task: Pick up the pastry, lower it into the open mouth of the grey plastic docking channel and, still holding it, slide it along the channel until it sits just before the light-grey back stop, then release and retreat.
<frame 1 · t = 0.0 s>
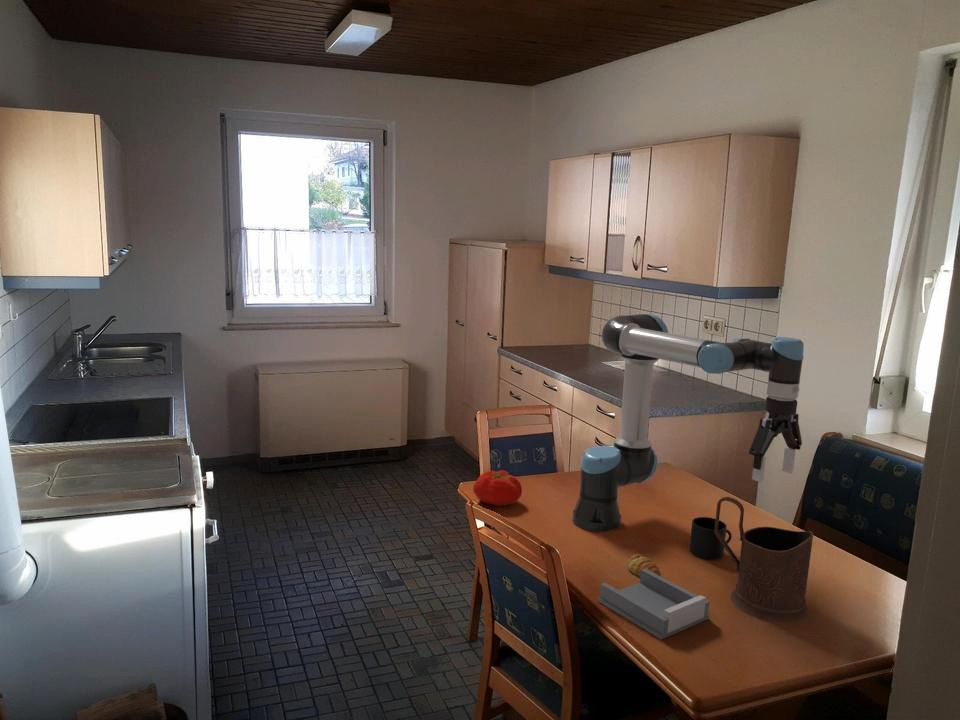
hand: (772, 476, 194), 28 cm above the table, fingers open, 13 cm apart
mug: (710, 553, 212), on the table
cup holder: (757, 601, 185), on the table
pastry: (643, 573, 198), on the table
dock: (652, 609, 178), on the table
tomato: (497, 503, 244), on the table
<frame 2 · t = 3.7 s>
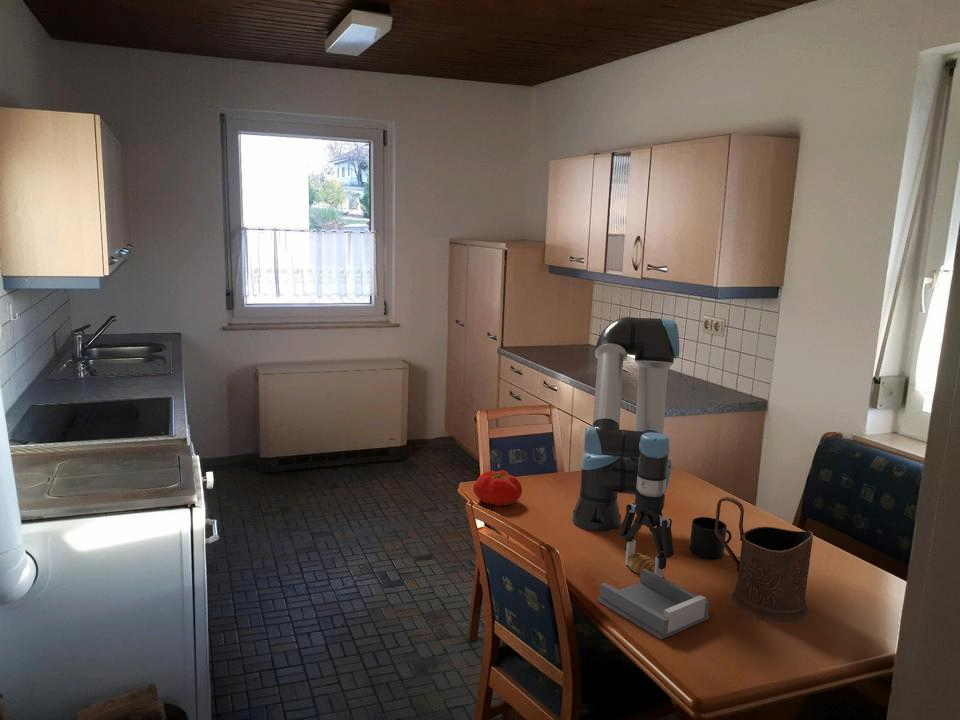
hand: (643, 571, 198), 0 cm above the table, fingers open, 9 cm apart
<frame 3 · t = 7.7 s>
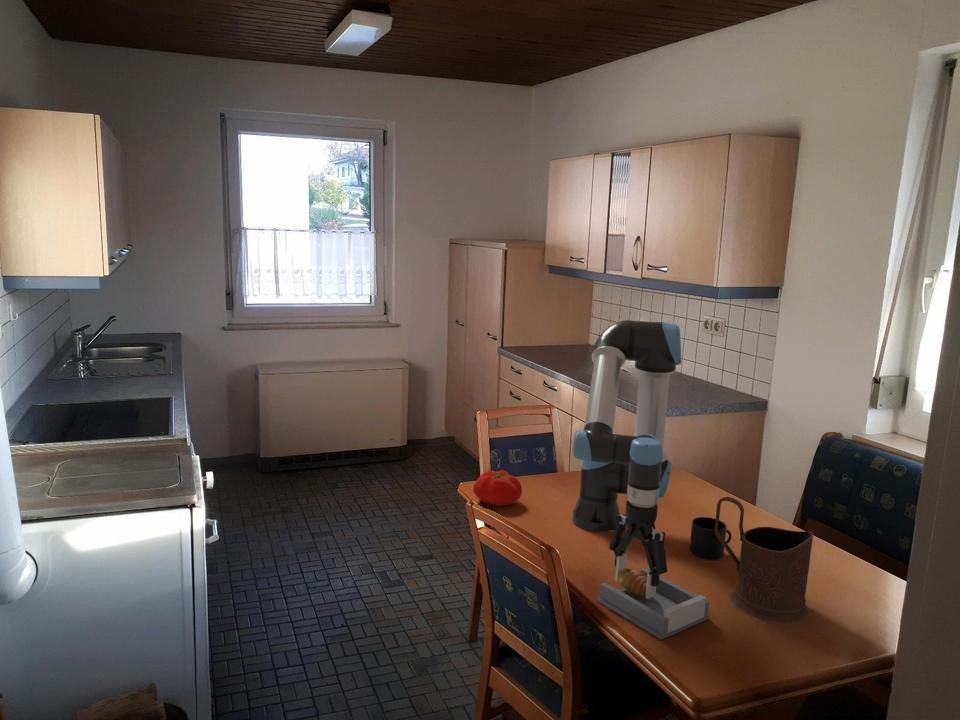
hand: (634, 588, 183), 3 cm above the table, fingers closed on pastry, 9 cm apart
pastry: (635, 588, 184), point 2 cm above the table, touching gripper
everything else where it was.
when the fingers open (1 cm above the table, at t = 10.6 s): pastry stays where it is, resting on dock.
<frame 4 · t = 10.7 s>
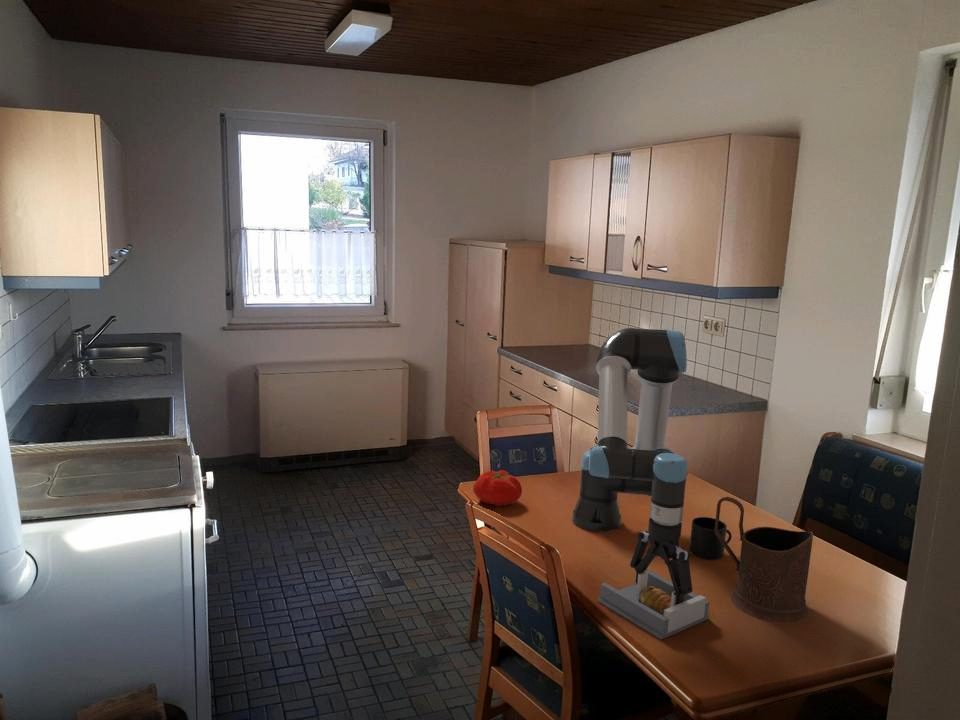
hand: (657, 607, 177), 1 cm above the table, fingers open, 10 cm apart
pastry: (658, 607, 178), point 1 cm above the table, touching dock
everything else where it was.
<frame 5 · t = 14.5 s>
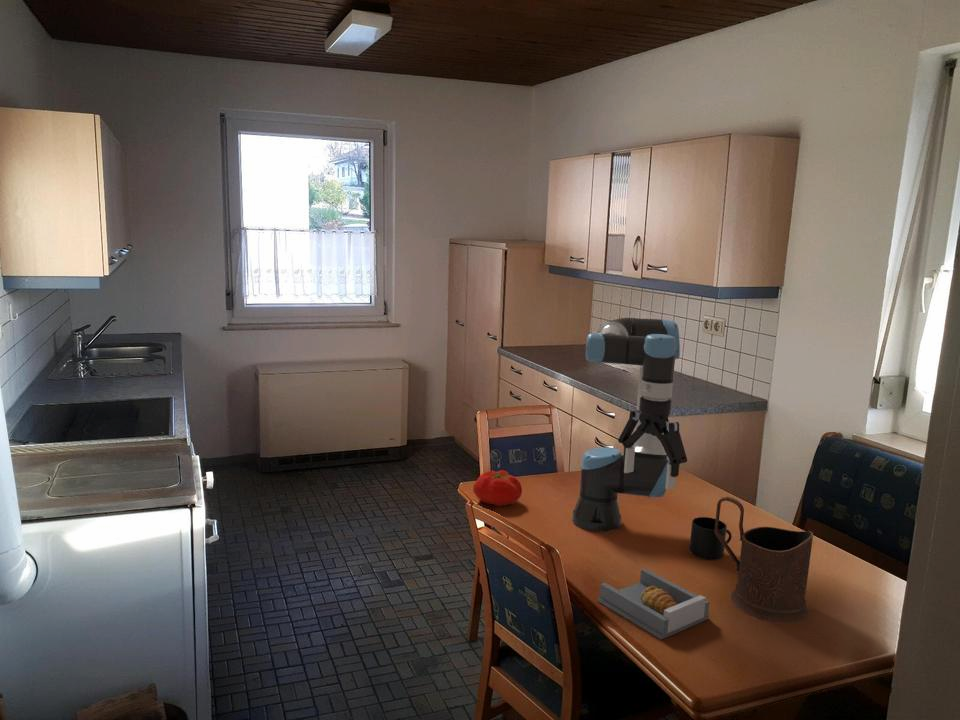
hand: (648, 480, 185), 29 cm above the table, fingers open, 13 cm apart
nothing on the table moved.
at the end: pastry inside the target area on the dock (2.7 cm from its centre), point 0.8 cm above the dock's base; the gripper is holding nothing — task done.
